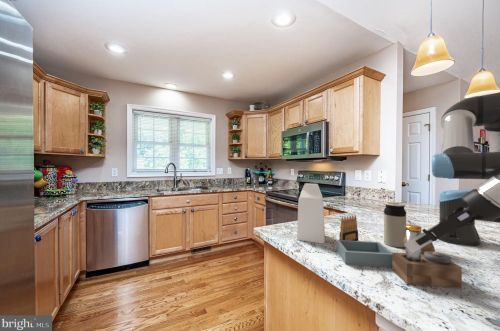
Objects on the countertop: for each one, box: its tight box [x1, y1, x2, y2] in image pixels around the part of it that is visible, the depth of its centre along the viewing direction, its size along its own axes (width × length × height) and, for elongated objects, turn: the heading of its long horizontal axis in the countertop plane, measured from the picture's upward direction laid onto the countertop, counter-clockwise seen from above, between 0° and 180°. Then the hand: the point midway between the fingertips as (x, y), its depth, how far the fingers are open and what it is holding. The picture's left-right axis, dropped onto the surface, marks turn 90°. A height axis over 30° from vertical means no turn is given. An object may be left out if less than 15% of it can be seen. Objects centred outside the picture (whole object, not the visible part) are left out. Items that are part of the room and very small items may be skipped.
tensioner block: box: [391, 251, 463, 289], centre depth 63 cm, size 14×8×8 cm, turn 81°
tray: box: [335, 239, 393, 268], centre depth 78 cm, size 16×12×4 cm
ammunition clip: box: [339, 214, 359, 241], centre depth 94 cm, size 11×2×12 cm, turn 118°
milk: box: [296, 183, 326, 244], centre depth 101 cm, size 12×12×26 cm
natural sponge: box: [403, 236, 436, 254], centre depth 77 cm, size 9×9×10 cm
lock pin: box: [405, 223, 422, 262], centre depth 64 cm, size 4×4×16 cm
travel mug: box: [383, 201, 407, 249], centre depth 91 cm, size 8×8×18 cm
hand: (416, 243), depth 63 cm, fingers open, 13 cm apart
